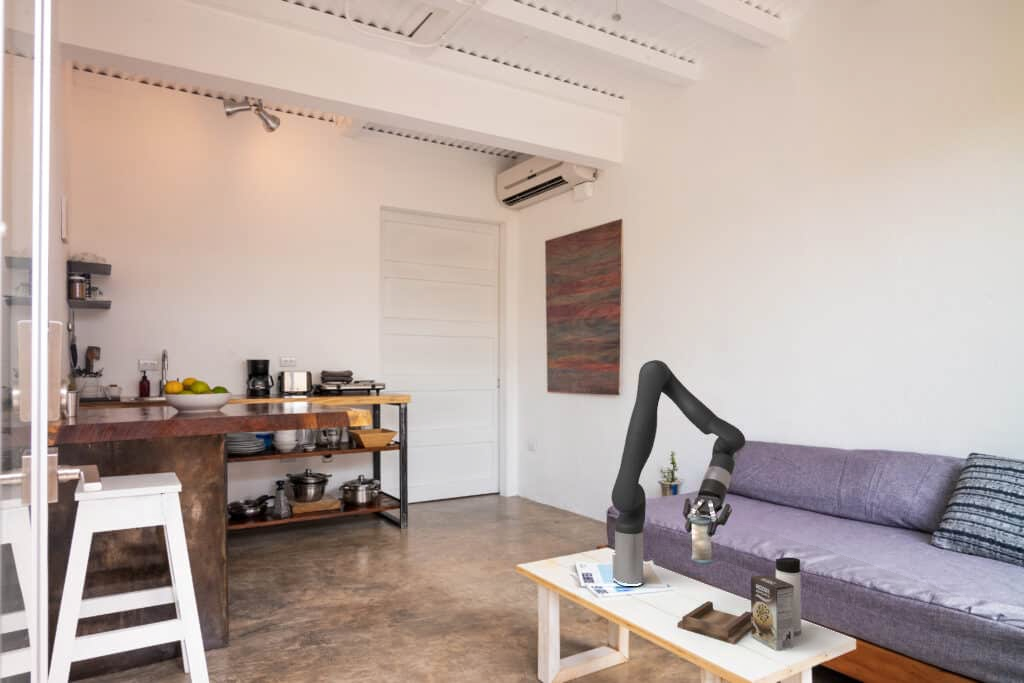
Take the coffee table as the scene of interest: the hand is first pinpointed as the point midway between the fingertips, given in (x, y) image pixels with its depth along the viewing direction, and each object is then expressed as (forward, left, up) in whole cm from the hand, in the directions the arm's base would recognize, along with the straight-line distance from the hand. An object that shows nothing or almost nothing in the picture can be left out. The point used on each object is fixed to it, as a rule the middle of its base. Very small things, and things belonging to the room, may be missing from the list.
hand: (698, 533), depth 182 cm
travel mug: (+22, +10, -25) cm, 34 cm away
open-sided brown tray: (+6, 0, -25) cm, 25 cm away
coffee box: (+21, 0, -25) cm, 32 cm away
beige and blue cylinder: (0, +2, -8) cm, 8 cm away
